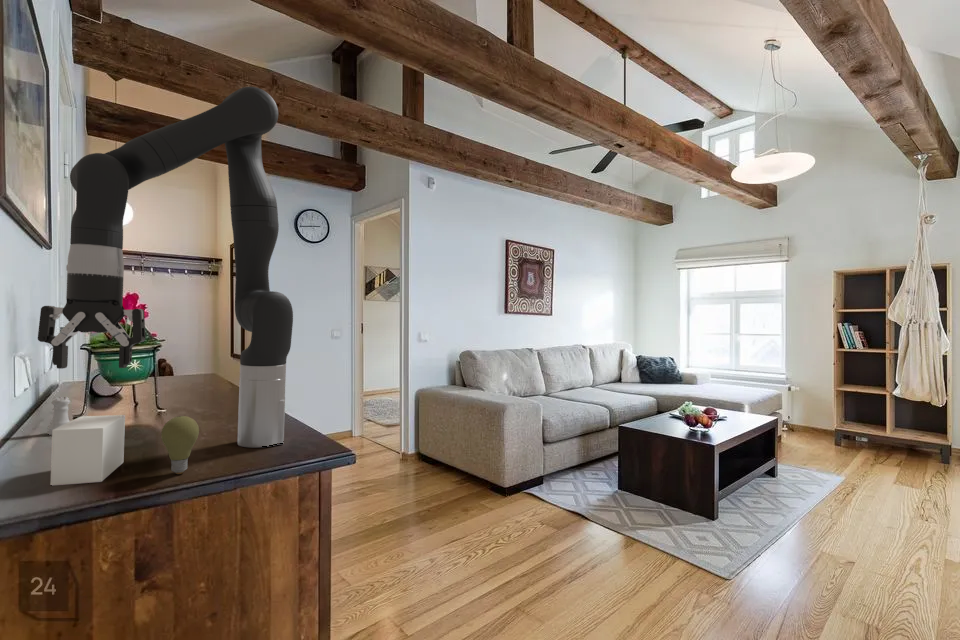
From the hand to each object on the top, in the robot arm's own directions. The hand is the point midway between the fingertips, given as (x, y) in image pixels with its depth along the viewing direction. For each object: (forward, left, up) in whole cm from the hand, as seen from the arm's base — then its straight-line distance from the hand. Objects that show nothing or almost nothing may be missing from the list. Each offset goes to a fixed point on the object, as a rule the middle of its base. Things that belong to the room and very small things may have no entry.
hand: (92, 367), depth 81 cm
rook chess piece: (+16, -33, -18) cm, 41 cm away
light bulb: (-14, +4, -18) cm, 23 cm away
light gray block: (0, 0, -18) cm, 18 cm away
